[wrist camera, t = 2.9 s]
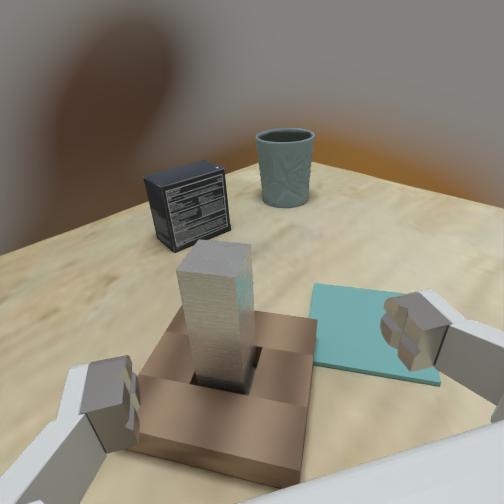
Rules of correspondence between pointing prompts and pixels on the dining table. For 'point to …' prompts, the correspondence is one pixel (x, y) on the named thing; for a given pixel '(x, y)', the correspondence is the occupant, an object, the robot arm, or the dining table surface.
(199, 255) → the metal bar
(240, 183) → the dining table surface
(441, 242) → the dining table surface
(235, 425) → the socket block
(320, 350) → the mat
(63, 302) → the dining table surface
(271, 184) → the grey-green cup
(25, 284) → the dining table surface
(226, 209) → the small box
